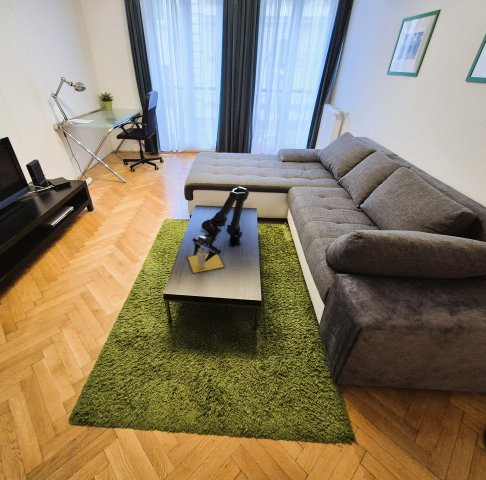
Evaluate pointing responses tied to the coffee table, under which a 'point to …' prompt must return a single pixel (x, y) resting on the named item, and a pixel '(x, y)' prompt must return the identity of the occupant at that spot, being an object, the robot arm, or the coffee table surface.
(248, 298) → the coffee table surface
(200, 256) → the bottle
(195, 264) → the cloth
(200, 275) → the coffee table surface
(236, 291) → the coffee table surface
